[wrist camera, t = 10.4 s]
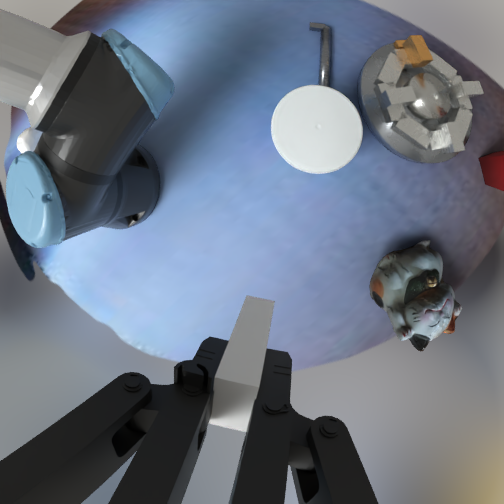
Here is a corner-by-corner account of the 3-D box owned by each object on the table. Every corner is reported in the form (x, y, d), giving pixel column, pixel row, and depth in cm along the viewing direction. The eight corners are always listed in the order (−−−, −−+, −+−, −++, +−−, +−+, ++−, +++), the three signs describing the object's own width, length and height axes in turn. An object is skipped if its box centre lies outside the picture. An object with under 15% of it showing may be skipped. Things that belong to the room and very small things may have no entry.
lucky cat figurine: (442, 235, 39) (491, 292, 29) (420, 285, 47) (456, 341, 36) (373, 246, 37) (424, 321, 27) (355, 302, 45) (389, 370, 34)
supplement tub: (270, 117, 39) (259, 90, 25) (332, 106, 37) (350, 75, 23) (285, 178, 41) (281, 182, 27) (347, 167, 39) (373, 165, 25)
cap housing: (349, 143, 38) (358, 139, 32) (361, 34, 32) (369, 18, 26) (456, 178, 36) (475, 180, 30) (463, 75, 30) (480, 66, 24)
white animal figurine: (23, 157, 37) (2, 158, 39) (55, 155, 45) (29, 155, 47) (27, 124, 35) (5, 130, 37) (58, 126, 43) (32, 129, 45)
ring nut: (443, 168, 33) (464, 169, 28) (360, 110, 33) (370, 100, 28) (472, 93, 29) (491, 87, 23) (395, 36, 29) (407, 21, 23)
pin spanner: (327, 100, 37) (329, 97, 35) (305, 97, 37) (305, 94, 36) (330, 28, 33) (331, 24, 31) (309, 26, 33) (309, 21, 32)
